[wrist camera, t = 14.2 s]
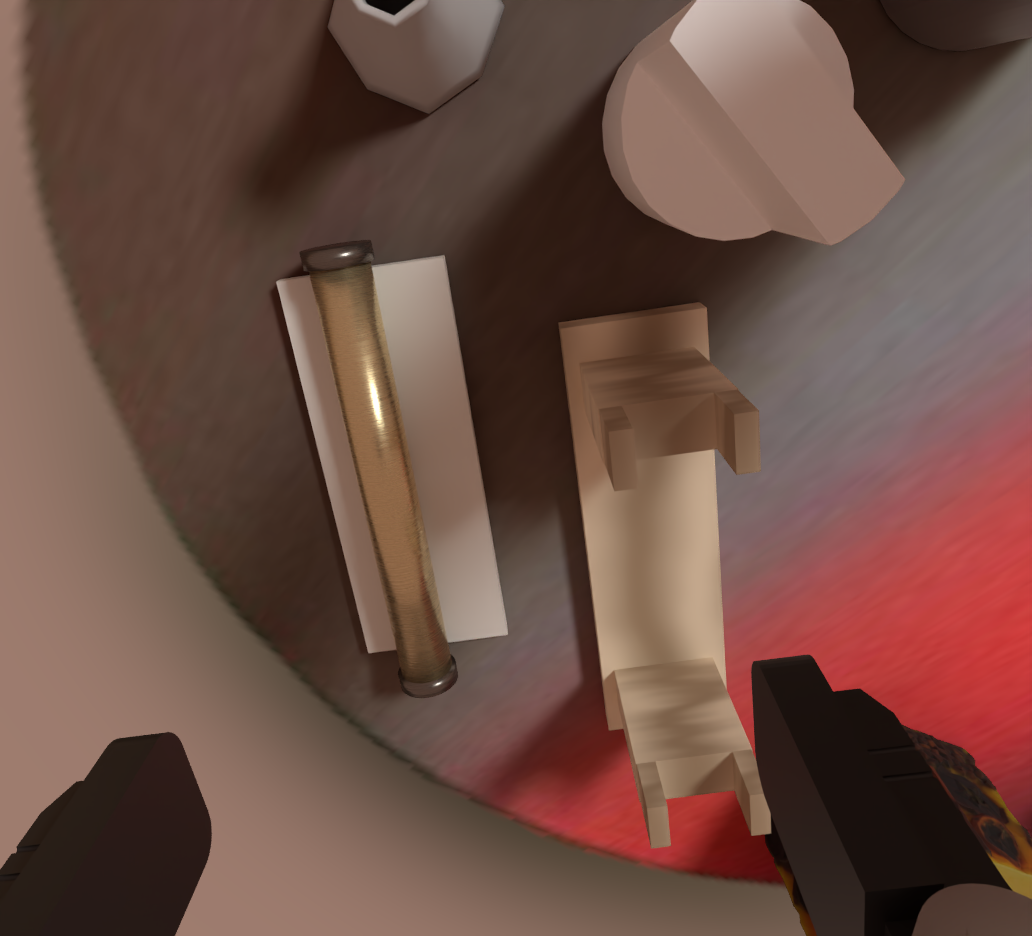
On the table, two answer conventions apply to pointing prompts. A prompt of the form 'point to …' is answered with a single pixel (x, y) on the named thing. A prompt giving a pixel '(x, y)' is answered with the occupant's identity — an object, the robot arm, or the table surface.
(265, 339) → the table surface
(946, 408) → the table surface
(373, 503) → the brass rail
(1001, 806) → the yellow cube with hole
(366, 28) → the flask
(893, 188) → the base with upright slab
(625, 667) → the rail stand
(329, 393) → the grey mat
